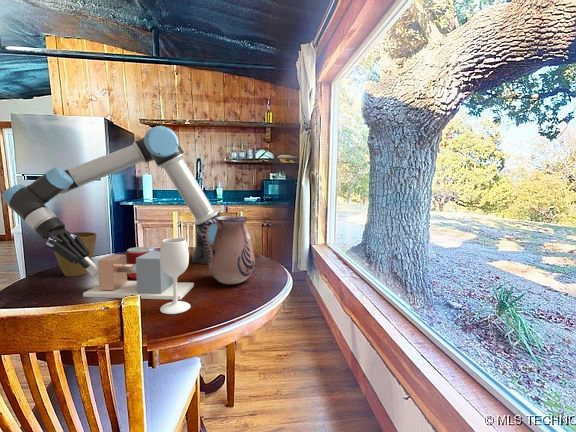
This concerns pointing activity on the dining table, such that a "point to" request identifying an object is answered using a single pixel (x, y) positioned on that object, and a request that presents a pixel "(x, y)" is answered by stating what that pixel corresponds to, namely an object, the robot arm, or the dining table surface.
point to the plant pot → (67, 266)
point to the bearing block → (145, 282)
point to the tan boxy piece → (114, 271)
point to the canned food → (132, 256)
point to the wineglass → (174, 270)
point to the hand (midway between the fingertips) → (97, 273)
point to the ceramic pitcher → (229, 250)
